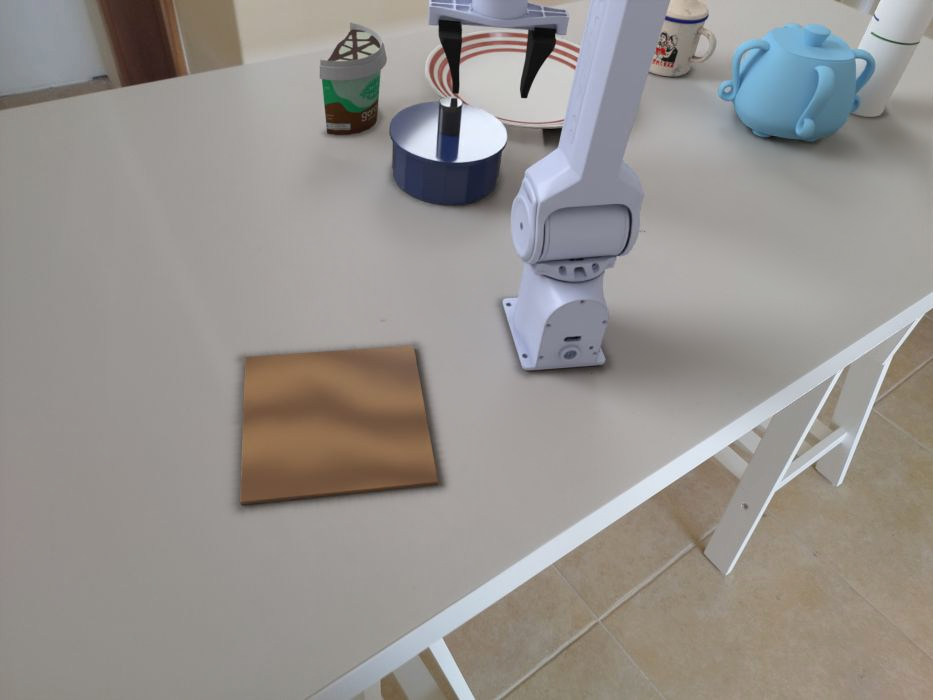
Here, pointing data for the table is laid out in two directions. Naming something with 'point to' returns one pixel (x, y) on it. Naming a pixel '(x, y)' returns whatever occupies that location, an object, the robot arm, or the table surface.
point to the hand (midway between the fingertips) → (489, 91)
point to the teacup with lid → (681, 38)
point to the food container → (353, 81)
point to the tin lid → (448, 133)
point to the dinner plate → (507, 78)
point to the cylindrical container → (890, 49)
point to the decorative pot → (796, 82)
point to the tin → (444, 179)
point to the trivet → (333, 424)
